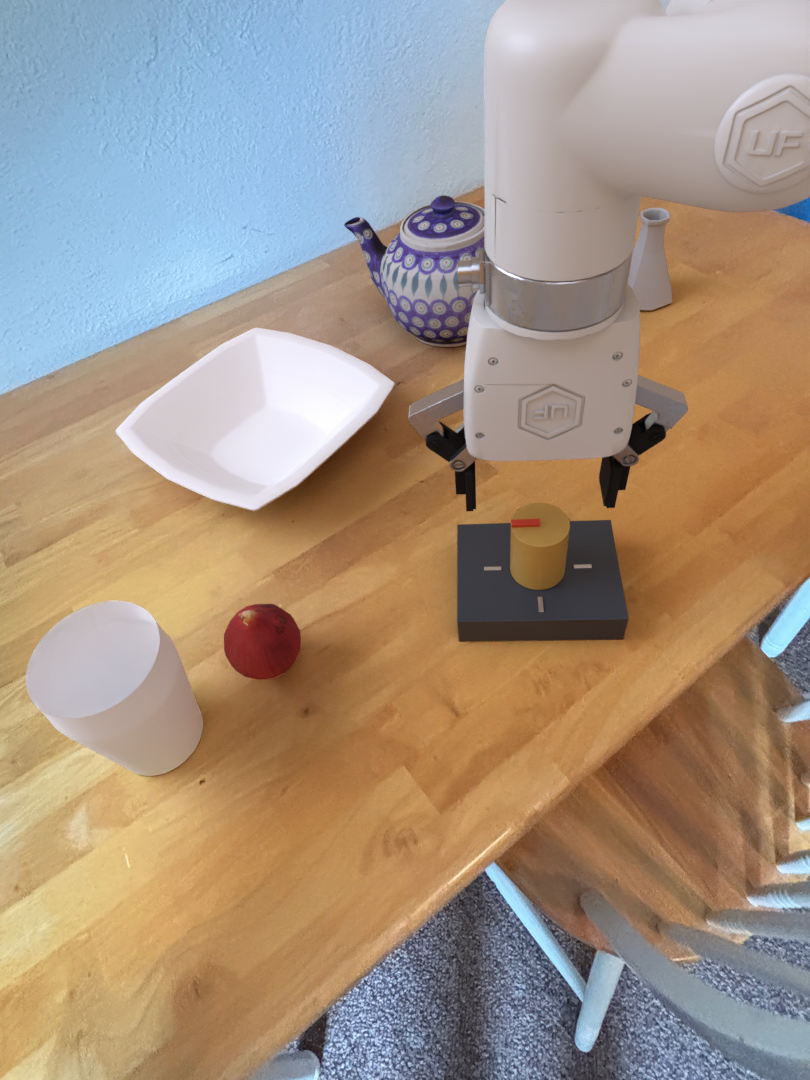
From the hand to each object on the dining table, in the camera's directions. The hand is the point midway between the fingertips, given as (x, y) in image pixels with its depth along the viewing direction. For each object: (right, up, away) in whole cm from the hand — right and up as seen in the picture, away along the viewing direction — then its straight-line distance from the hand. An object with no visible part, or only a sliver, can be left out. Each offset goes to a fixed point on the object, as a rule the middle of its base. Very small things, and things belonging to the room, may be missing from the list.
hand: (537, 495), depth 51 cm
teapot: (-4, +23, +35) cm, 42 cm away
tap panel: (+2, -7, +9) cm, 12 cm away
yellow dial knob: (+1, -5, +7) cm, 9 cm away
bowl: (-24, +6, +24) cm, 34 cm away
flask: (+19, +26, +35) cm, 47 cm away
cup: (-28, -18, +4) cm, 34 cm away
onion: (-20, -14, +7) cm, 25 cm away
